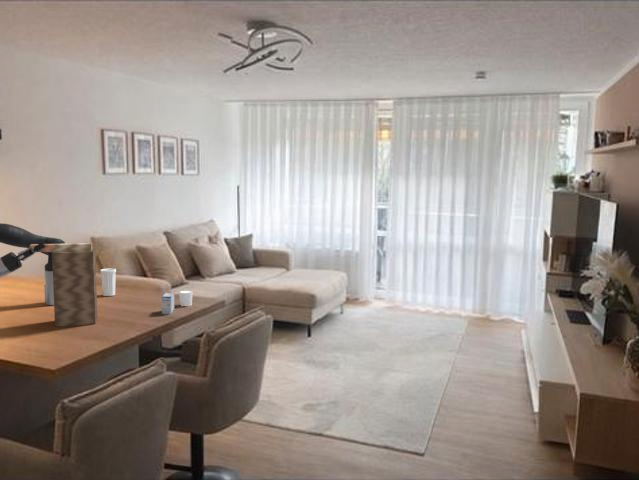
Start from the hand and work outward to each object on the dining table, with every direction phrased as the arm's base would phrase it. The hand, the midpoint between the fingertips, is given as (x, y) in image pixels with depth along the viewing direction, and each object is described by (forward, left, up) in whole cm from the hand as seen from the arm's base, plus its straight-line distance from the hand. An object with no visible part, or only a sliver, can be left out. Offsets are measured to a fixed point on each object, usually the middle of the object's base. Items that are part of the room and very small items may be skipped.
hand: (44, 244), depth 224 cm
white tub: (+29, +56, -35) cm, 72 cm away
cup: (-21, +52, -35) cm, 67 cm away
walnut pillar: (+8, +8, -35) cm, 37 cm away
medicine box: (+31, +41, -36) cm, 63 cm away
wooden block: (+5, +5, -3) cm, 7 cm away
